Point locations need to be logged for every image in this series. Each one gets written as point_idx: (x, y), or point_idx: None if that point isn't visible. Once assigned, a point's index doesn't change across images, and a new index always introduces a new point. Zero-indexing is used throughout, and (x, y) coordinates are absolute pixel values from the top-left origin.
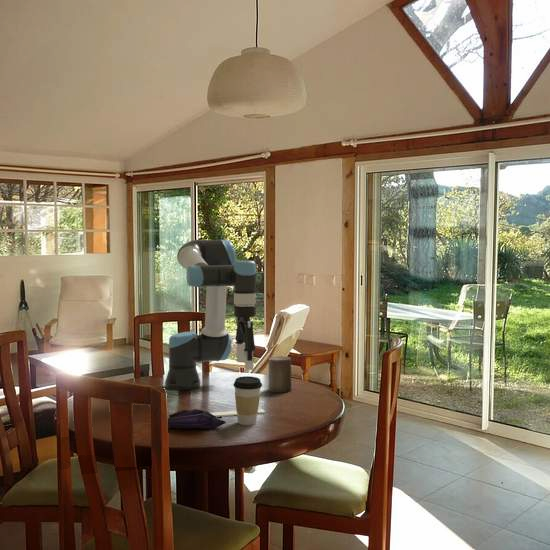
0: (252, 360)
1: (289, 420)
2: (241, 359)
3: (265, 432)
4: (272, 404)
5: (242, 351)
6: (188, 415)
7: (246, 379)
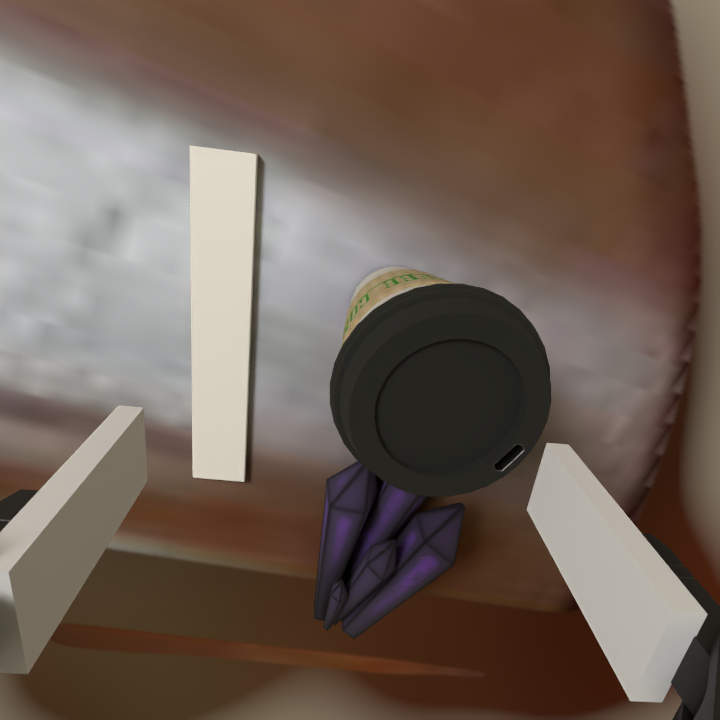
0: (616, 515)
1: (446, 67)
2: (132, 456)
3: (576, 281)
4: (50, 13)
5: (84, 510)
6: (386, 583)
7: (414, 409)
